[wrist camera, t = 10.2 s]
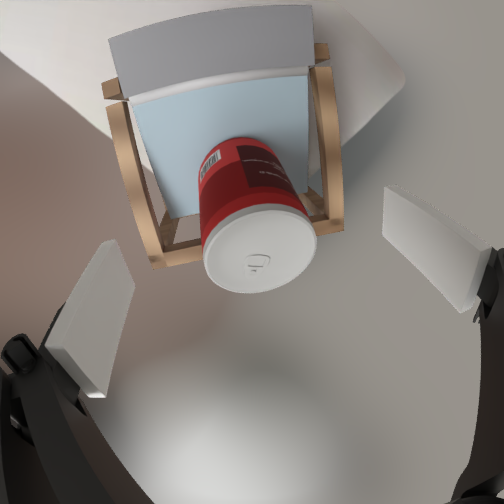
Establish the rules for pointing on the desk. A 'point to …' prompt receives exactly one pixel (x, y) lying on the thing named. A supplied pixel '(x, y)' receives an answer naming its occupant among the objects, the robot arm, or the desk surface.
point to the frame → (161, 238)
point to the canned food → (251, 219)
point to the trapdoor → (218, 90)
